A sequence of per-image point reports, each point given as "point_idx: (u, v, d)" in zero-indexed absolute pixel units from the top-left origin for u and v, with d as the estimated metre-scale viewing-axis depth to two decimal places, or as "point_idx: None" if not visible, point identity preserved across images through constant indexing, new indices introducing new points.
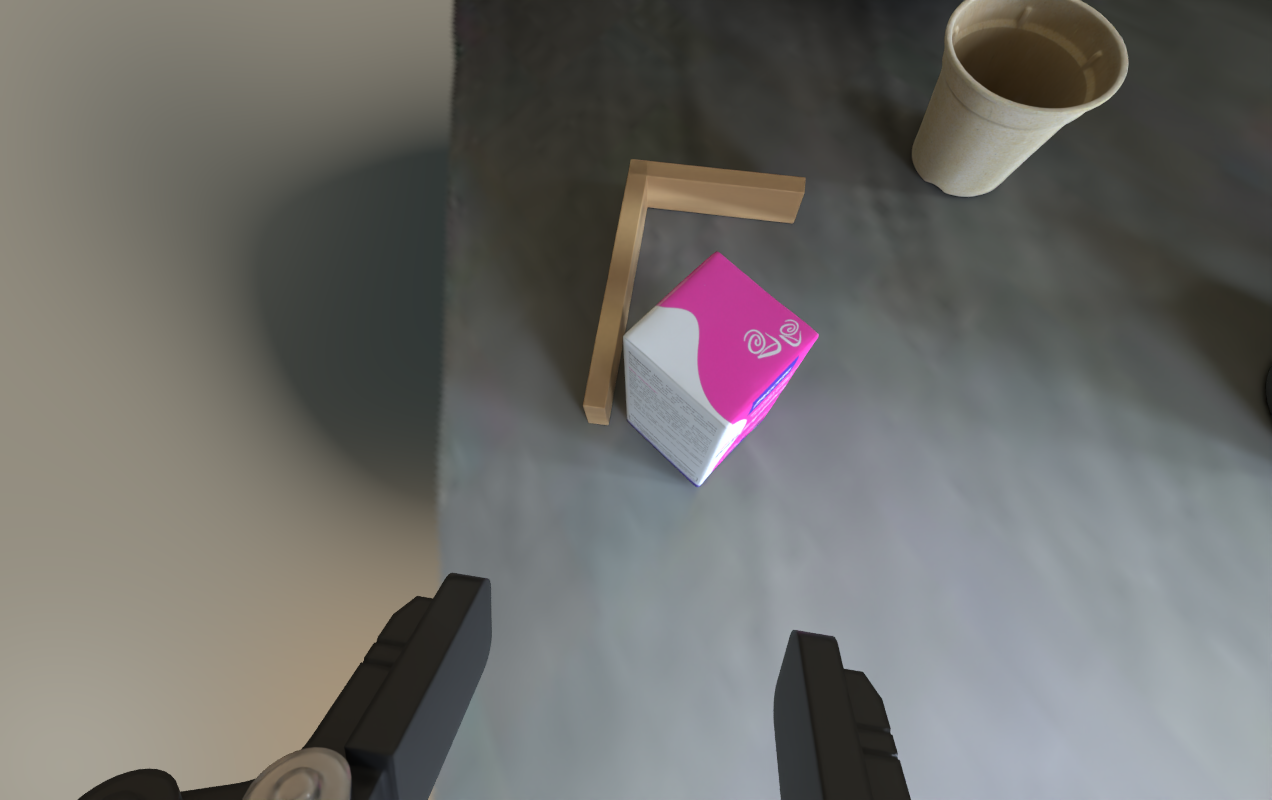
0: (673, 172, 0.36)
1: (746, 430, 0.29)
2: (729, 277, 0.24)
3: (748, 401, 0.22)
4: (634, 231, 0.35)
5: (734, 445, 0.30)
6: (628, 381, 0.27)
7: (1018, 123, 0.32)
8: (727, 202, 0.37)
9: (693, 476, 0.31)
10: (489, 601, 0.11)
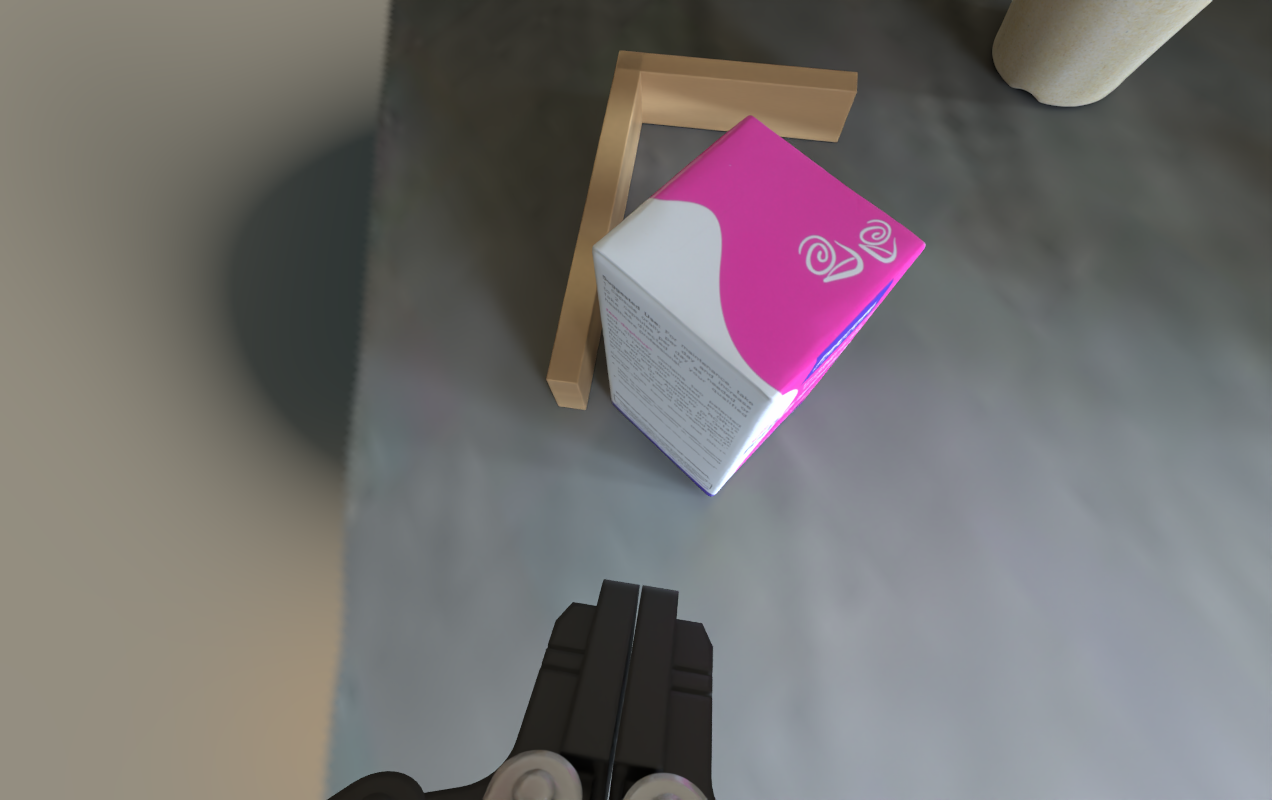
0: (676, 66, 0.27)
1: (786, 413, 0.19)
2: (771, 153, 0.14)
3: (810, 355, 0.13)
4: (622, 143, 0.25)
5: (766, 436, 0.20)
6: (607, 336, 0.18)
7: None
8: (750, 111, 0.28)
9: (705, 482, 0.22)
10: (636, 607, 0.12)
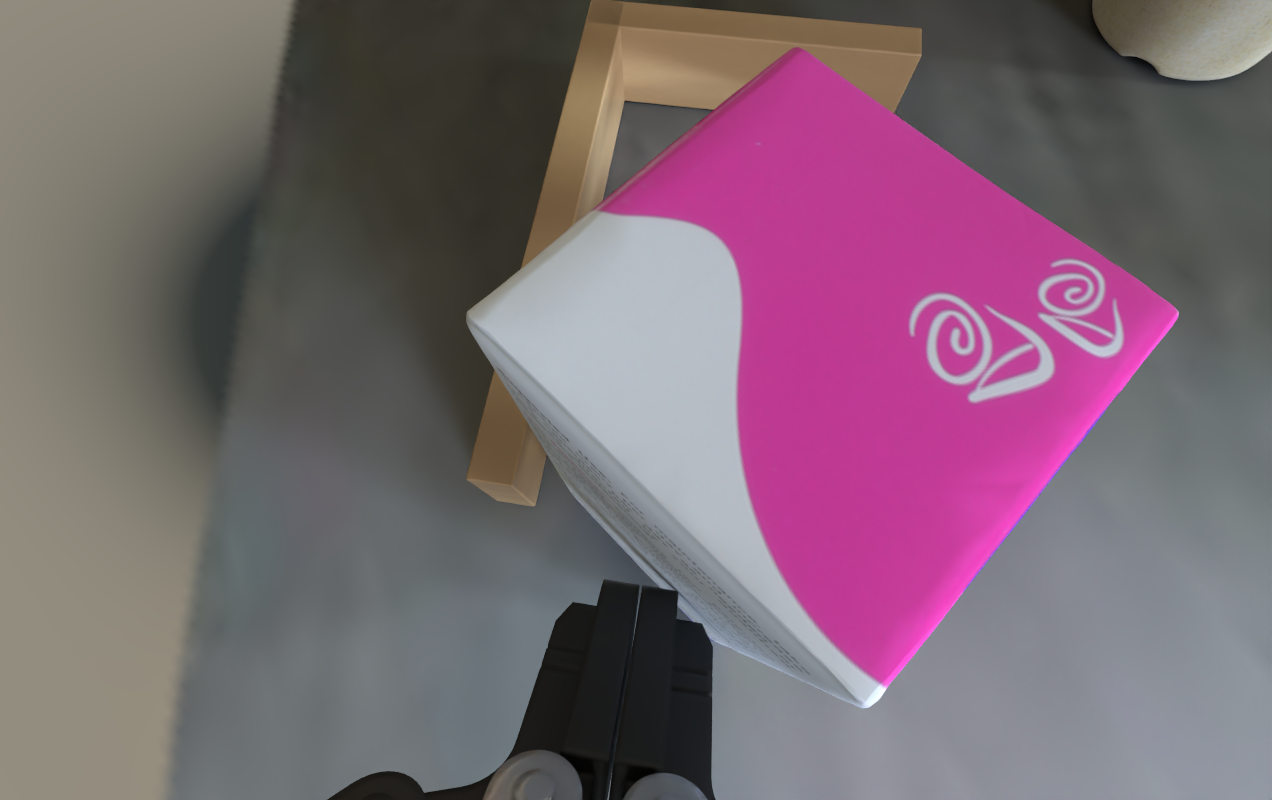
0: (670, 20, 0.19)
1: None
2: (841, 121, 0.07)
3: (951, 586, 0.05)
4: (592, 125, 0.18)
5: None
6: (540, 440, 0.10)
7: None
8: None
9: (706, 632, 0.14)
10: (636, 607, 0.12)
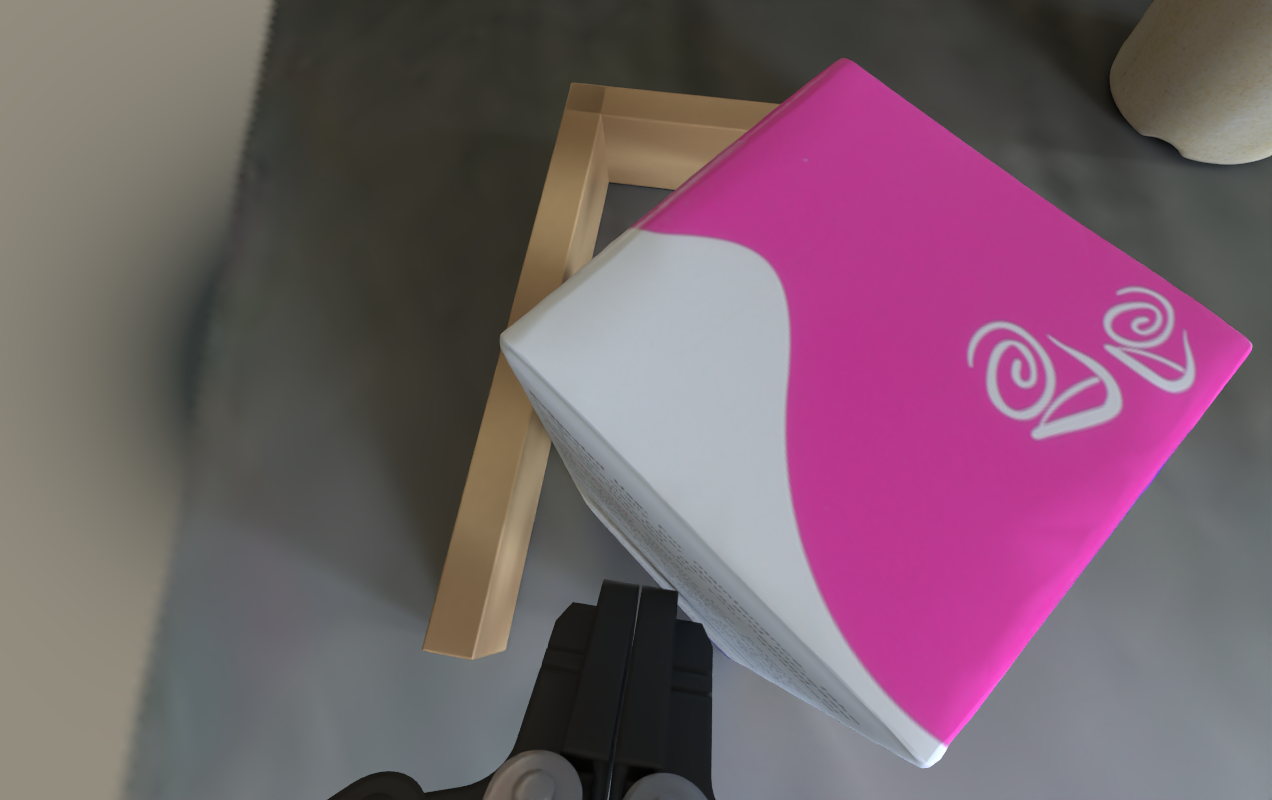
0: (655, 108, 0.18)
1: None
2: (892, 137, 0.07)
3: (1015, 639, 0.05)
4: (569, 230, 0.16)
5: None
6: (563, 457, 0.10)
7: None
8: None
9: (724, 650, 0.14)
10: (636, 607, 0.12)
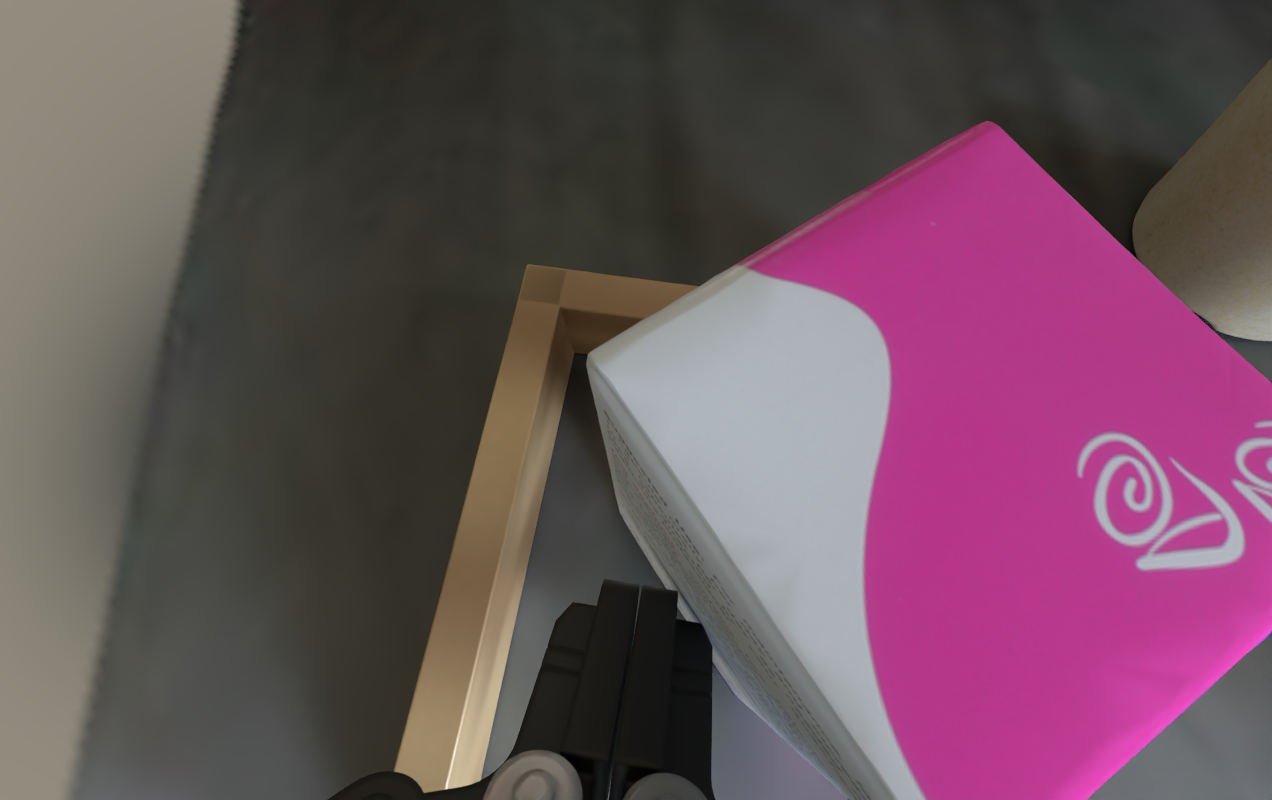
0: (621, 299, 0.16)
1: None
2: (1030, 214, 0.06)
3: (1086, 783, 0.05)
4: (518, 456, 0.14)
5: None
6: (614, 471, 0.10)
7: None
8: None
9: (733, 688, 0.14)
10: None
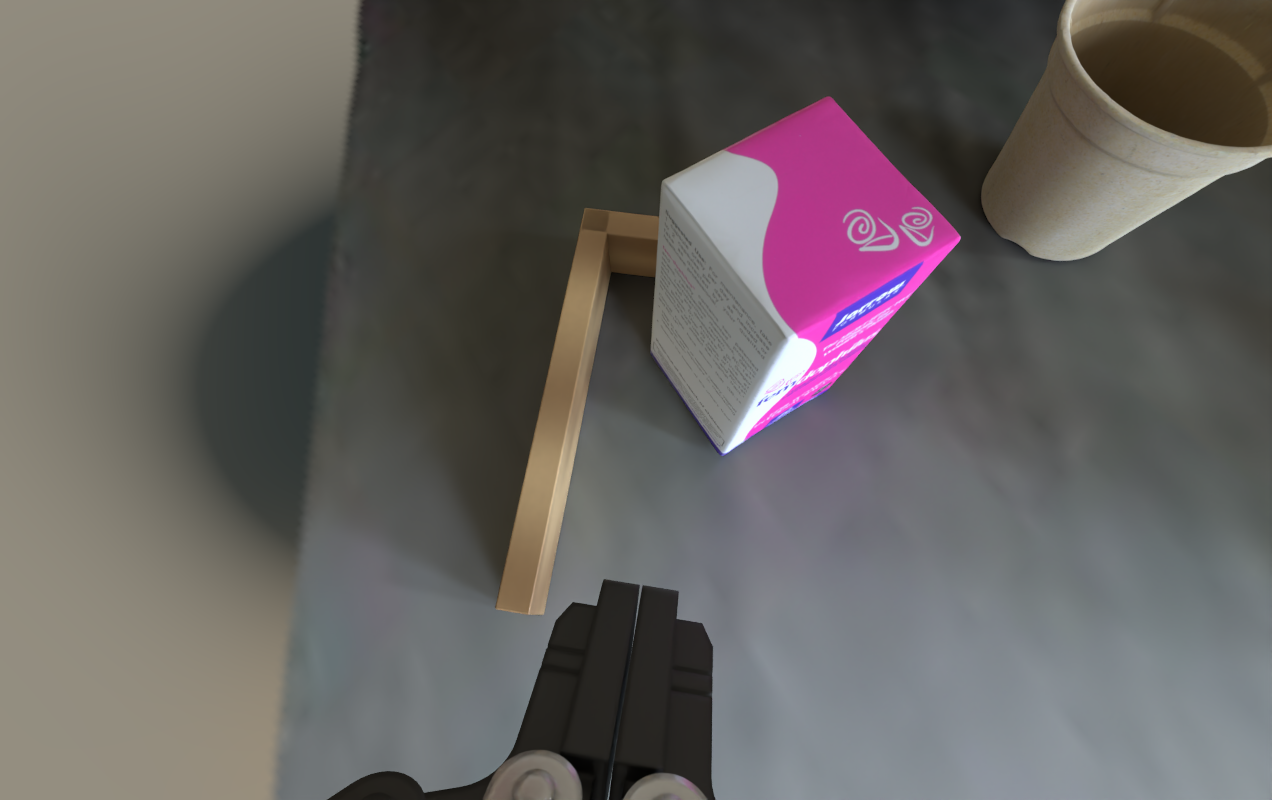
0: (645, 228, 0.25)
1: (806, 385, 0.21)
2: (839, 133, 0.16)
3: (831, 309, 0.14)
4: (585, 319, 0.24)
5: (784, 406, 0.22)
6: (659, 276, 0.19)
7: (1175, 168, 0.20)
8: None
9: (719, 438, 0.23)
10: (636, 607, 0.12)
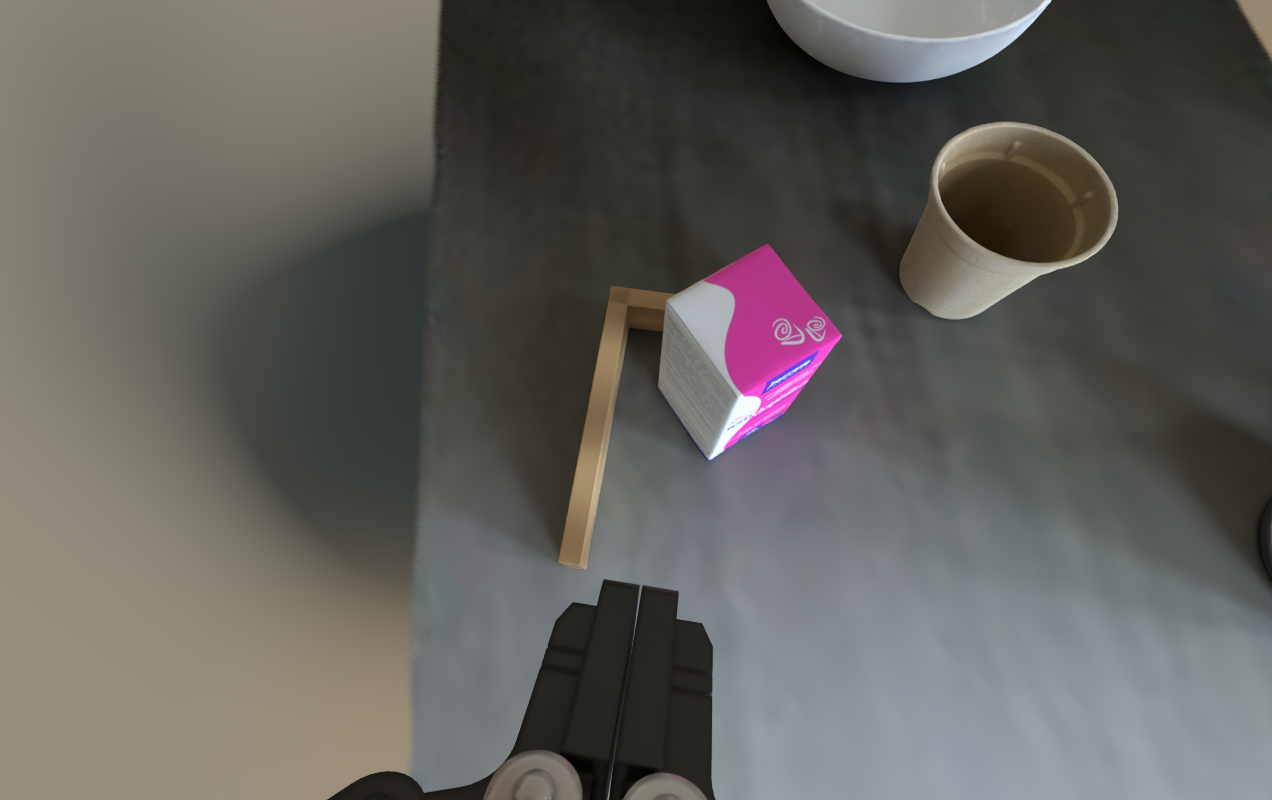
0: (654, 301, 0.36)
1: (762, 415, 0.31)
2: (773, 268, 0.27)
3: (763, 379, 0.25)
4: (613, 367, 0.34)
5: (748, 428, 0.32)
6: (664, 346, 0.30)
7: (1005, 271, 0.31)
8: None
9: (705, 449, 0.34)
10: (636, 607, 0.12)
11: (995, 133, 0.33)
